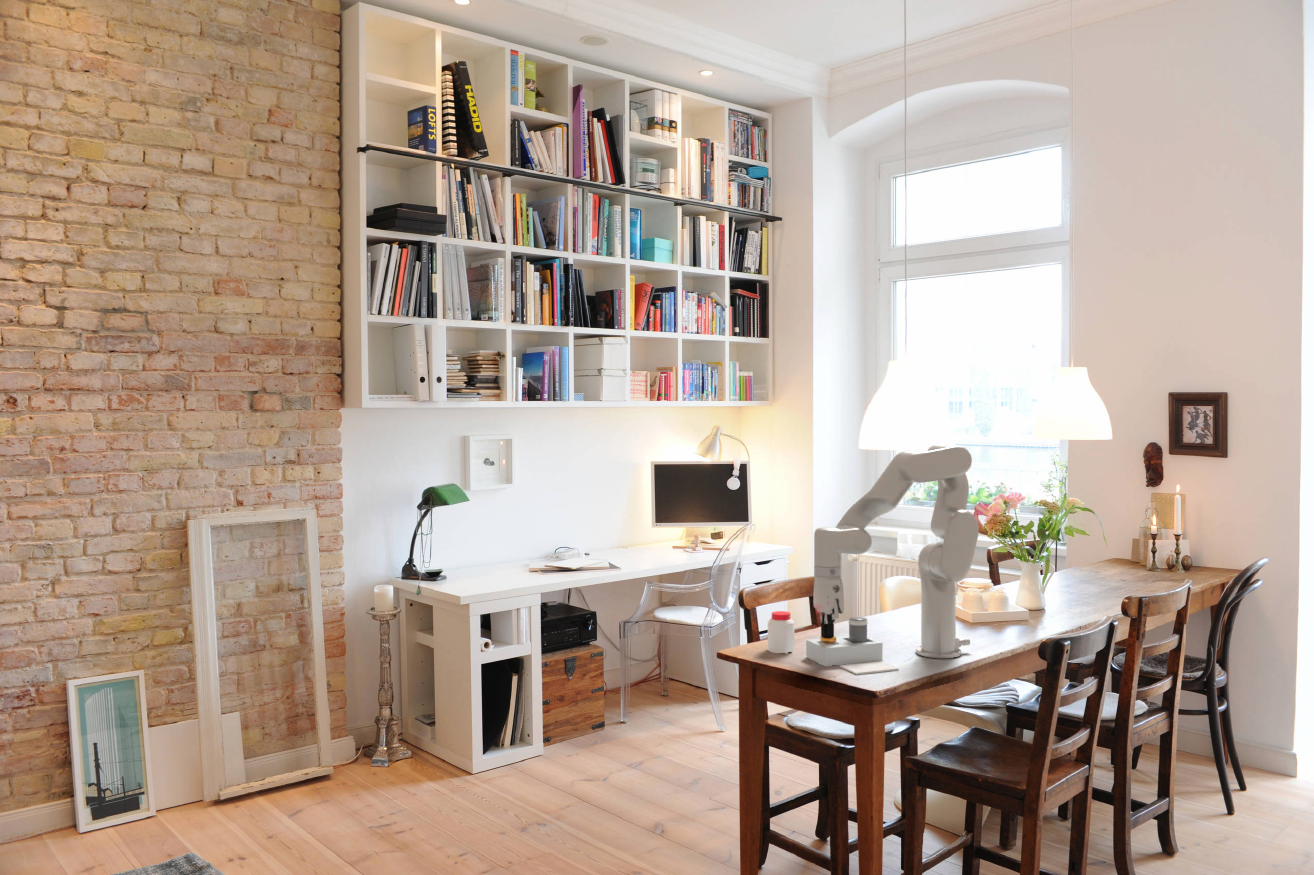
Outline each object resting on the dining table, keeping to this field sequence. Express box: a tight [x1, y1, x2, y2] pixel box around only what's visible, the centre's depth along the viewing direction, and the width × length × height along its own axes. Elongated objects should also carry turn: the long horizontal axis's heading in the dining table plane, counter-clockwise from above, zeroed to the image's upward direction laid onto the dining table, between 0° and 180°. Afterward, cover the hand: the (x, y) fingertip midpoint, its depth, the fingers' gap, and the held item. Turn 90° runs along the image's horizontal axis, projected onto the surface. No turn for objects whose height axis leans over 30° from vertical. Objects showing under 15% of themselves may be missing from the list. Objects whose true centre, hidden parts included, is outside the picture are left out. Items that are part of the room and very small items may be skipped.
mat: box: [839, 660, 899, 676], centre depth 275 cm, size 13×8×1 cm, turn 109°
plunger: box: [819, 635, 837, 646], centre depth 284 cm, size 4×4×6 cm
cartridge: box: [848, 616, 868, 643], centre depth 287 cm, size 5×5×11 cm
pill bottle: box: [767, 610, 796, 654], centre depth 296 cm, size 8×8×11 cm
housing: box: [805, 635, 883, 667], centre depth 286 cm, size 18×11×5 cm, turn 109°
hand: (827, 637), depth 284 cm, fingers closed
